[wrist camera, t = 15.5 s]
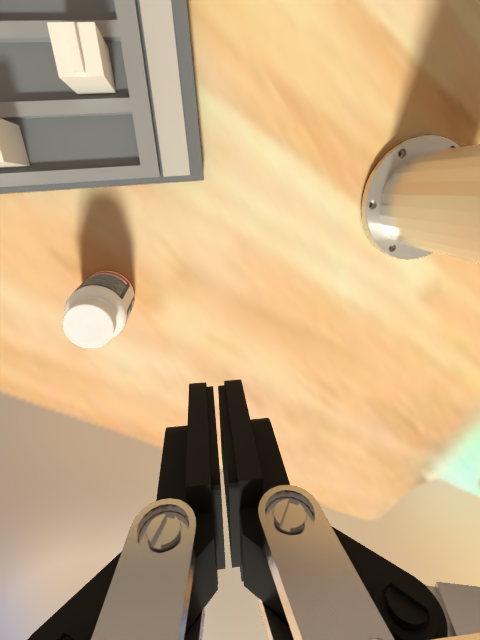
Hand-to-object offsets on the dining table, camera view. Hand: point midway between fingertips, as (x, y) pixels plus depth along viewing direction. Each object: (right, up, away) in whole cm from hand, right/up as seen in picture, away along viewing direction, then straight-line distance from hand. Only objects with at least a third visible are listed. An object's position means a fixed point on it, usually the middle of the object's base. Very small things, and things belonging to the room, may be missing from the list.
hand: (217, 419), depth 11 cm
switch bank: (-15, +23, +17) cm, 33 cm away
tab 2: (-11, +23, +16) cm, 30 cm away
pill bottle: (-13, +6, +25) cm, 29 cm away
